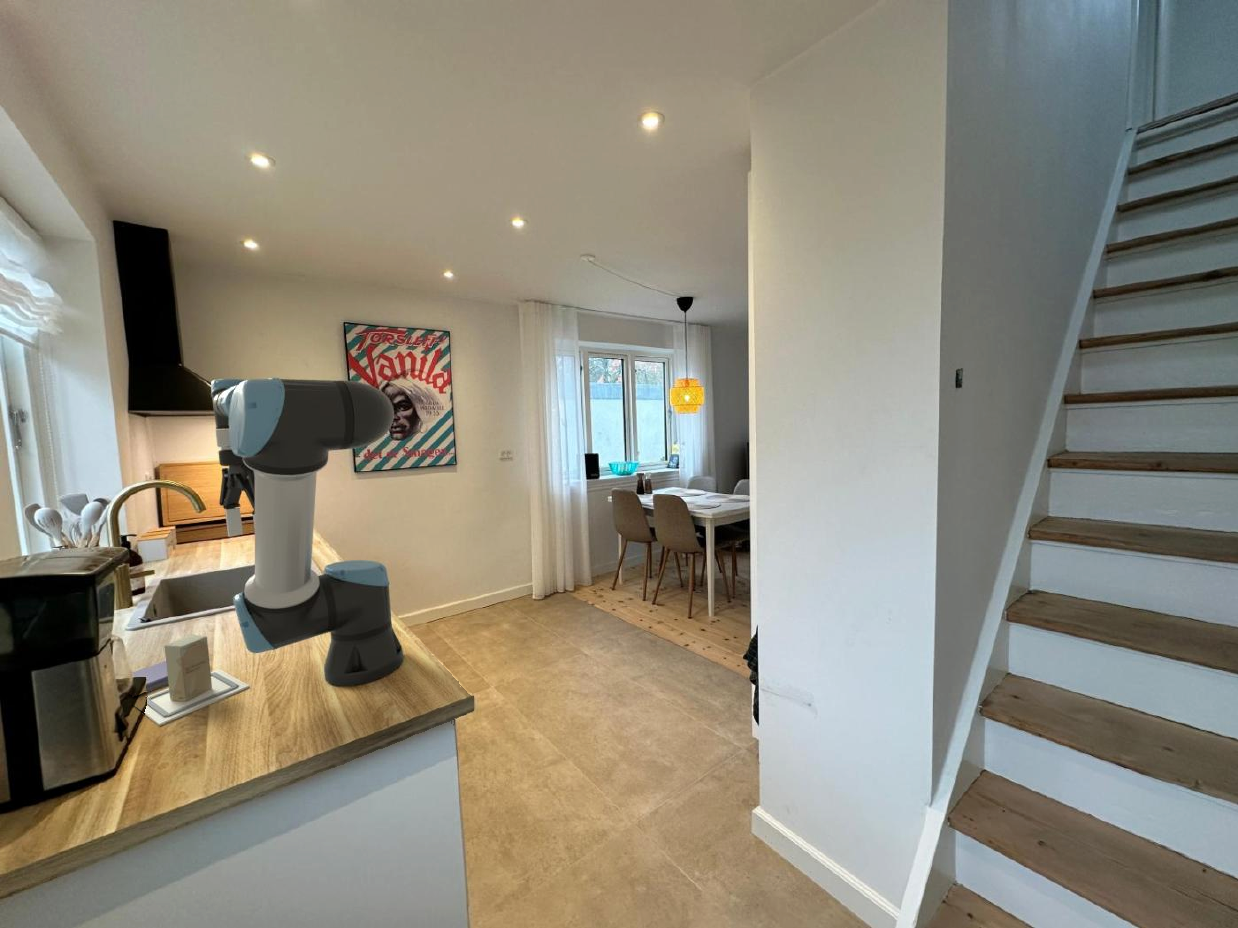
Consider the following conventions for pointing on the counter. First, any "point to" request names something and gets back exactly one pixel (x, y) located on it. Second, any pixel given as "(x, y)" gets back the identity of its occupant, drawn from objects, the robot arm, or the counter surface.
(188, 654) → the box
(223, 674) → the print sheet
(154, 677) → the pad
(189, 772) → the counter surface
